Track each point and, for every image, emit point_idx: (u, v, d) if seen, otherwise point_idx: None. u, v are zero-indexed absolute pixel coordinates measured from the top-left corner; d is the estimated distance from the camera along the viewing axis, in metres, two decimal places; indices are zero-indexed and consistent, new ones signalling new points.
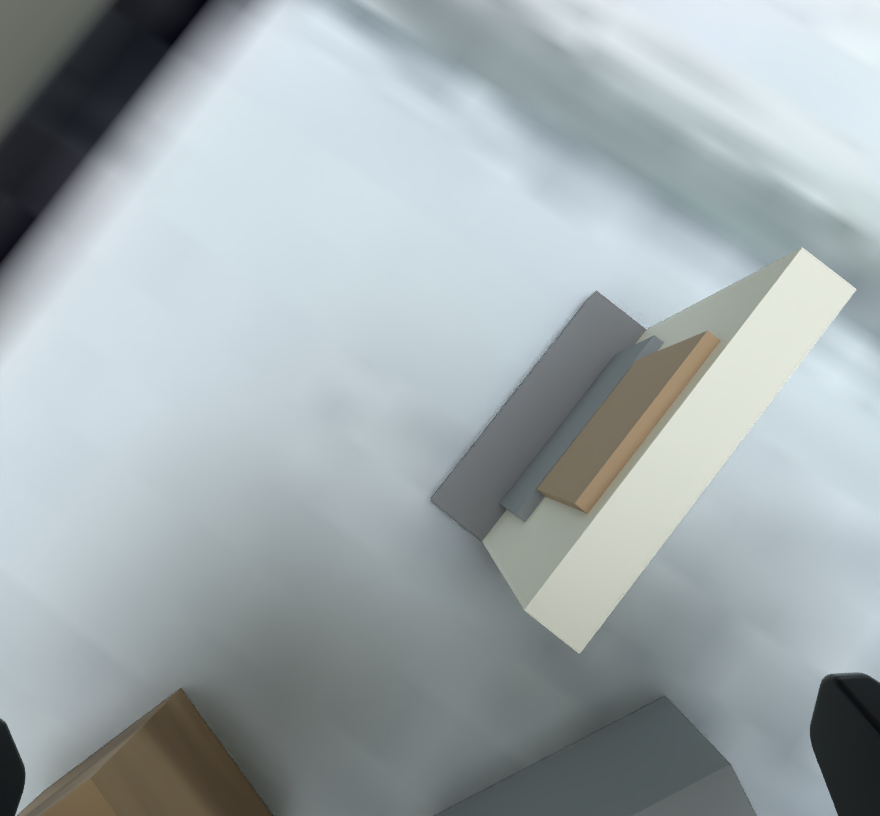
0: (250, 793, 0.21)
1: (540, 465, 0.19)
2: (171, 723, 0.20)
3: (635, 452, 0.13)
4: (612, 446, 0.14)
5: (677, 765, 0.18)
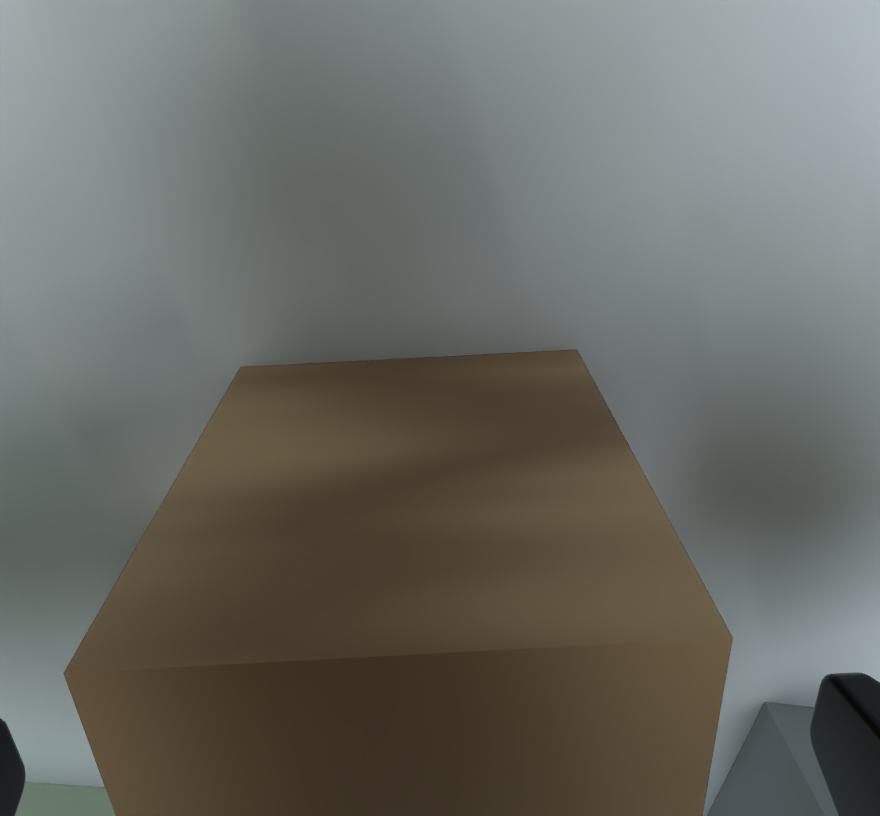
0: None
1: None
2: None
3: None
4: None
5: None
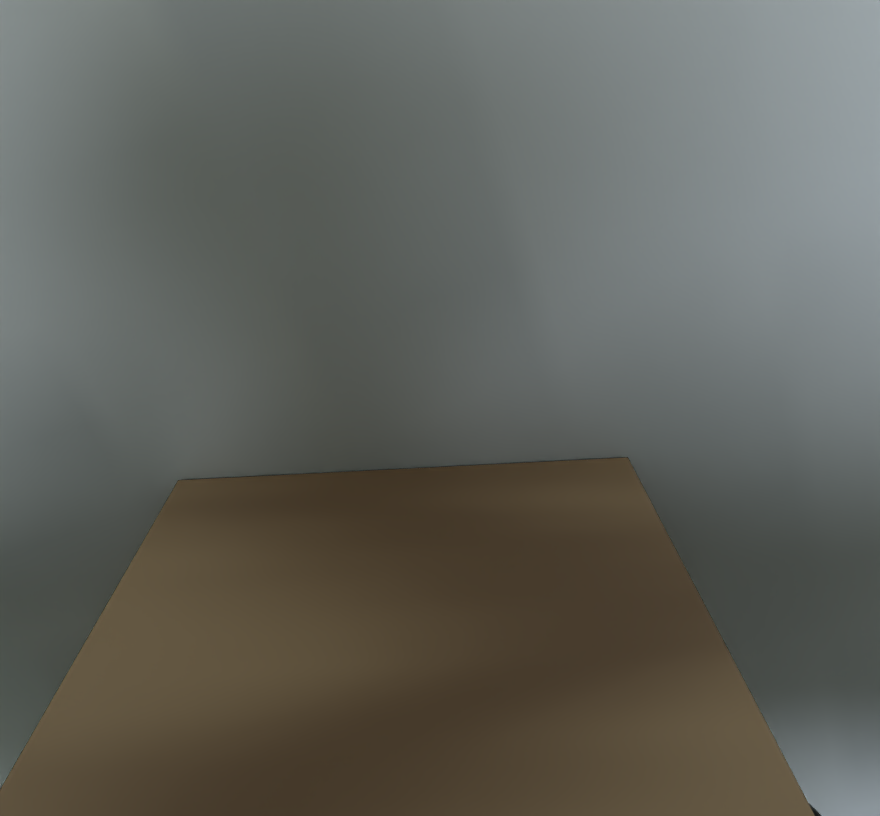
0: None
1: None
2: None
3: None
4: None
5: None
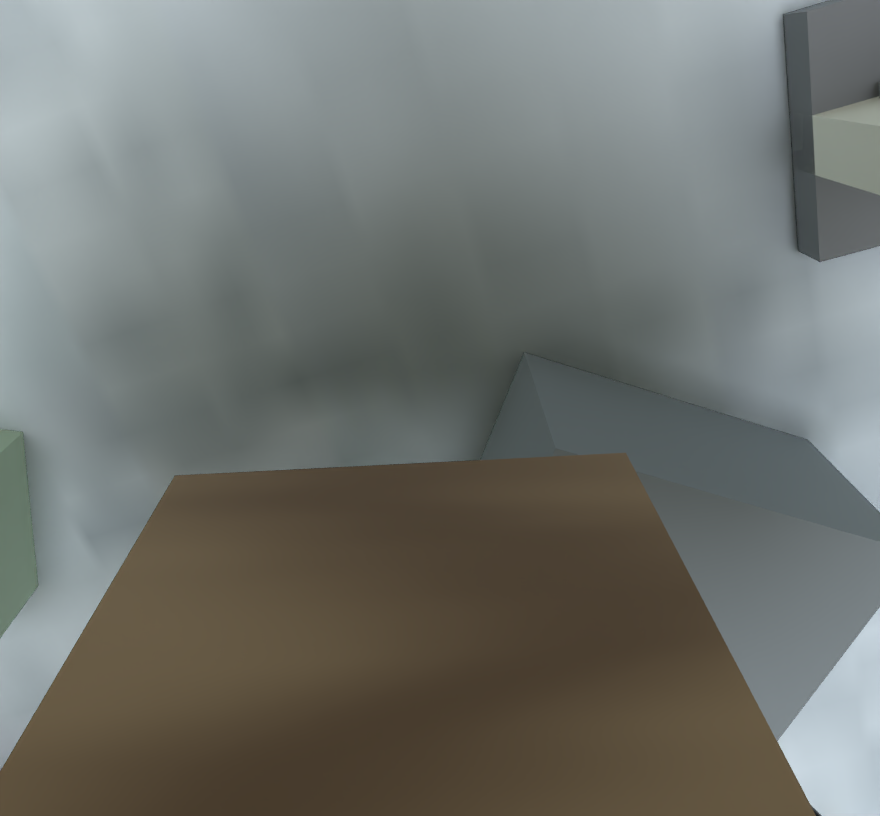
0: None
1: None
2: None
3: None
4: None
5: (850, 511, 0.15)
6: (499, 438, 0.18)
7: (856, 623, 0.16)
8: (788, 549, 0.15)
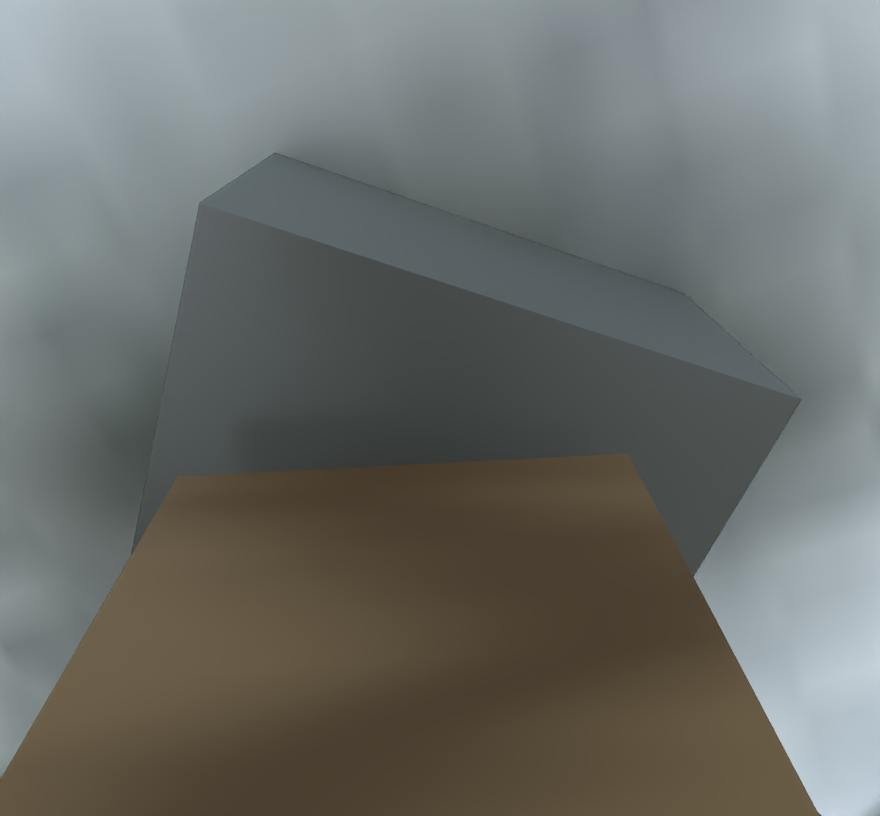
0: None
1: None
2: None
3: None
4: None
5: (704, 348, 0.10)
6: None
7: (715, 514, 0.10)
8: (601, 390, 0.10)
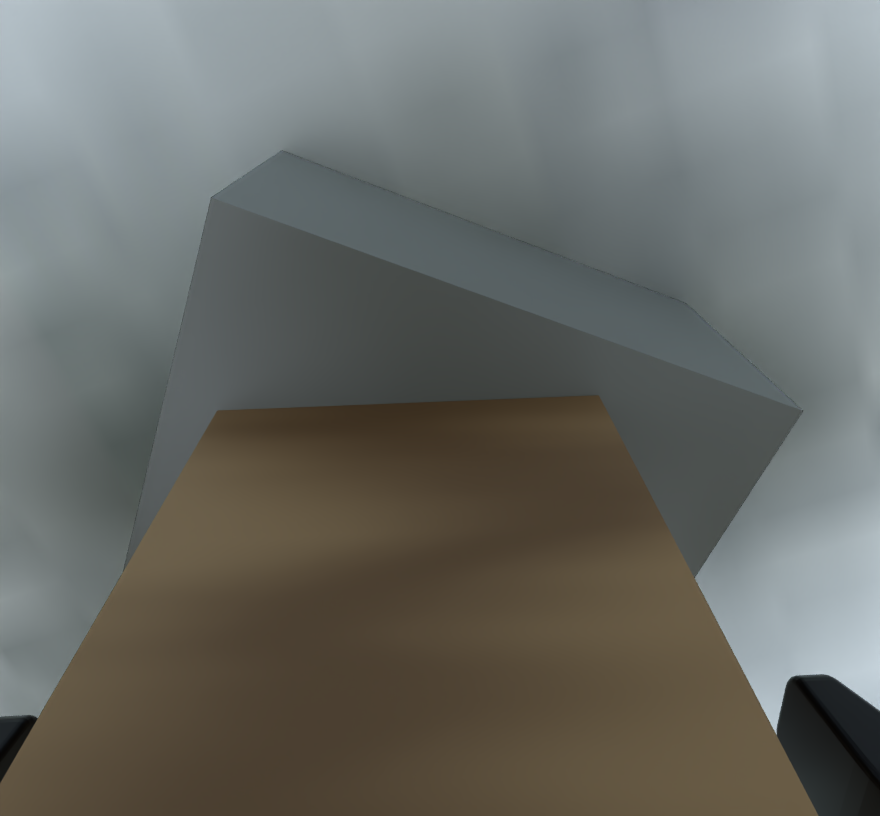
0: None
1: None
2: None
3: None
4: None
5: (708, 357, 0.10)
6: None
7: (714, 523, 0.10)
8: (604, 396, 0.10)
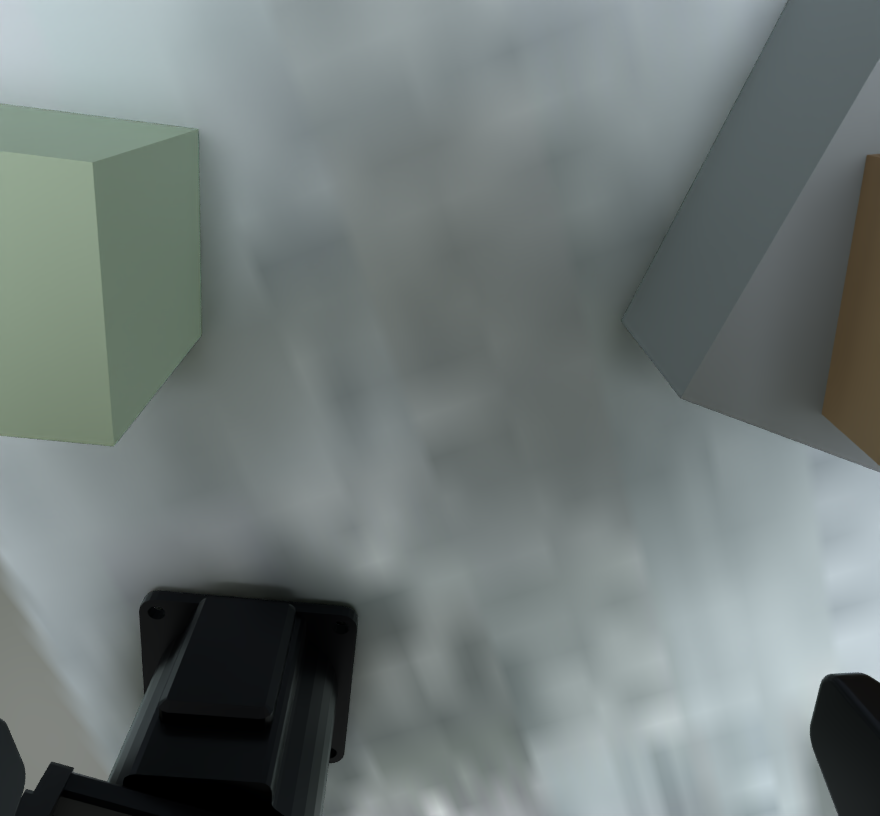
0: None
1: None
2: None
3: None
4: None
5: None
6: (762, 84, 0.16)
7: None
8: None
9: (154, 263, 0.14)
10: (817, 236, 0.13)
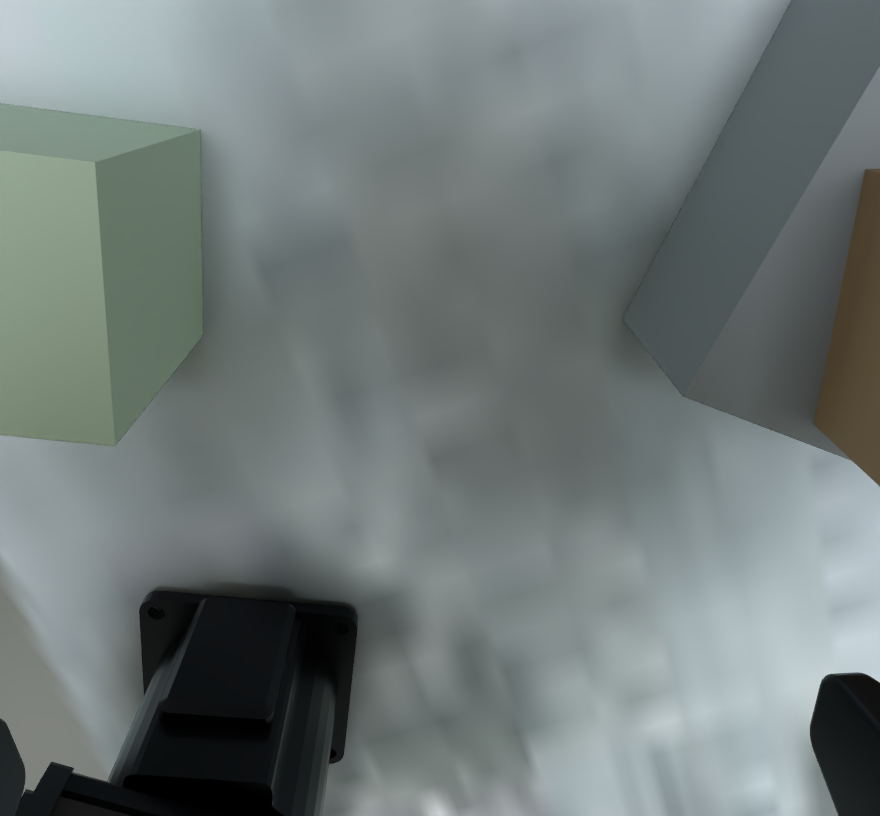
0: None
1: None
2: None
3: None
4: None
5: None
6: (766, 83, 0.16)
7: None
8: None
9: (155, 263, 0.14)
10: (821, 235, 0.13)
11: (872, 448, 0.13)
